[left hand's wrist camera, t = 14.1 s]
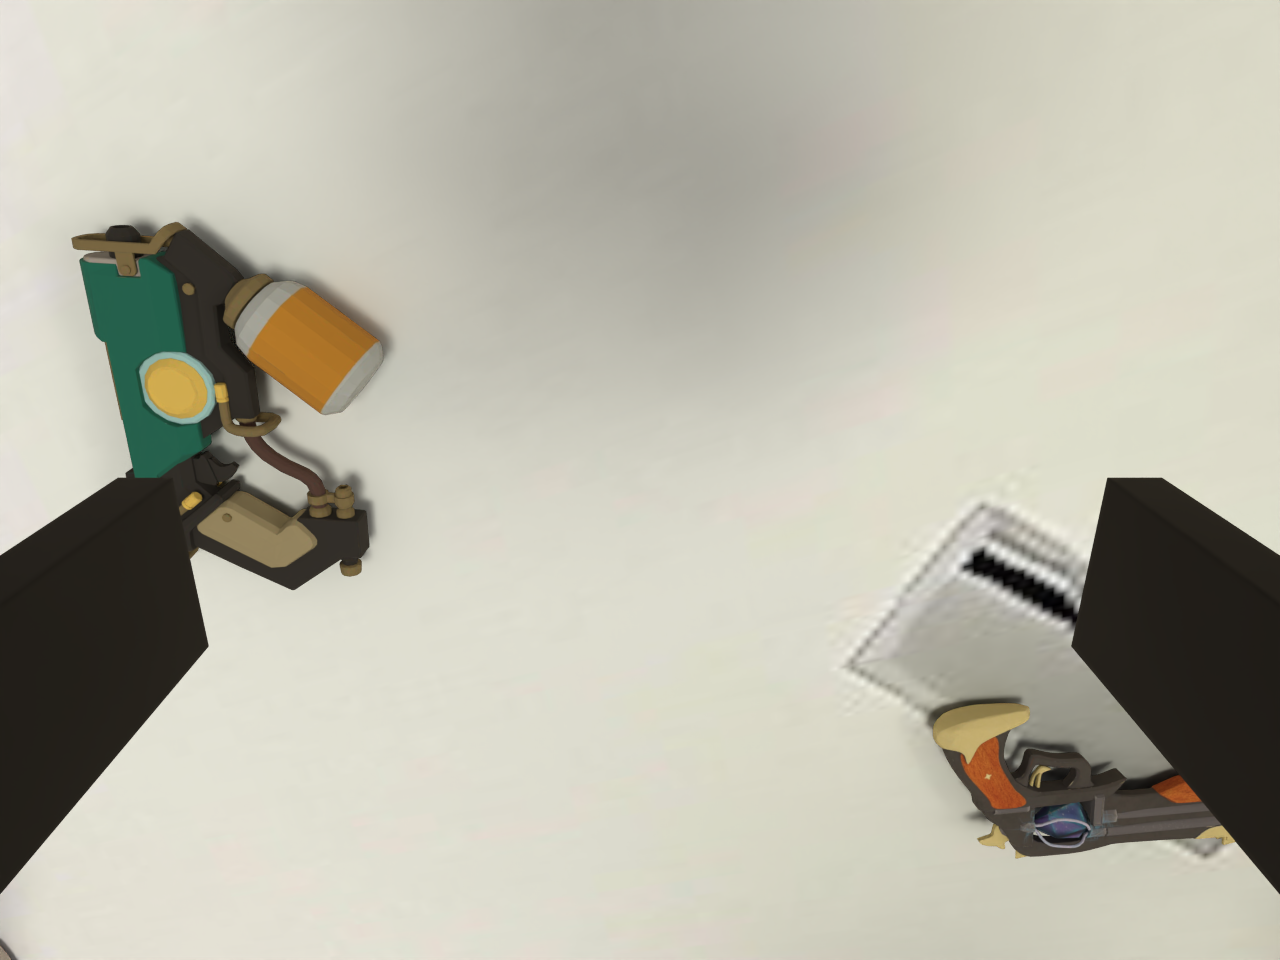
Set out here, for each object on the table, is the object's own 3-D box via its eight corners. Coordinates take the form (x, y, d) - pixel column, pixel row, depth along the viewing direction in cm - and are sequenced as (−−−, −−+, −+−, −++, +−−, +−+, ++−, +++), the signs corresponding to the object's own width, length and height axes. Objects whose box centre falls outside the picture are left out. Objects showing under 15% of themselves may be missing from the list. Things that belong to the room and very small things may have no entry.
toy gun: (944, 726, 47) (938, 883, 49) (1285, 697, 47) (1262, 853, 50) (925, 701, 49) (920, 851, 52) (1248, 674, 50) (1228, 823, 53)
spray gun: (366, 588, 47) (87, 501, 46) (435, 298, 40) (111, 186, 39) (336, 633, 43) (32, 540, 42) (408, 320, 36) (47, 197, 35)
